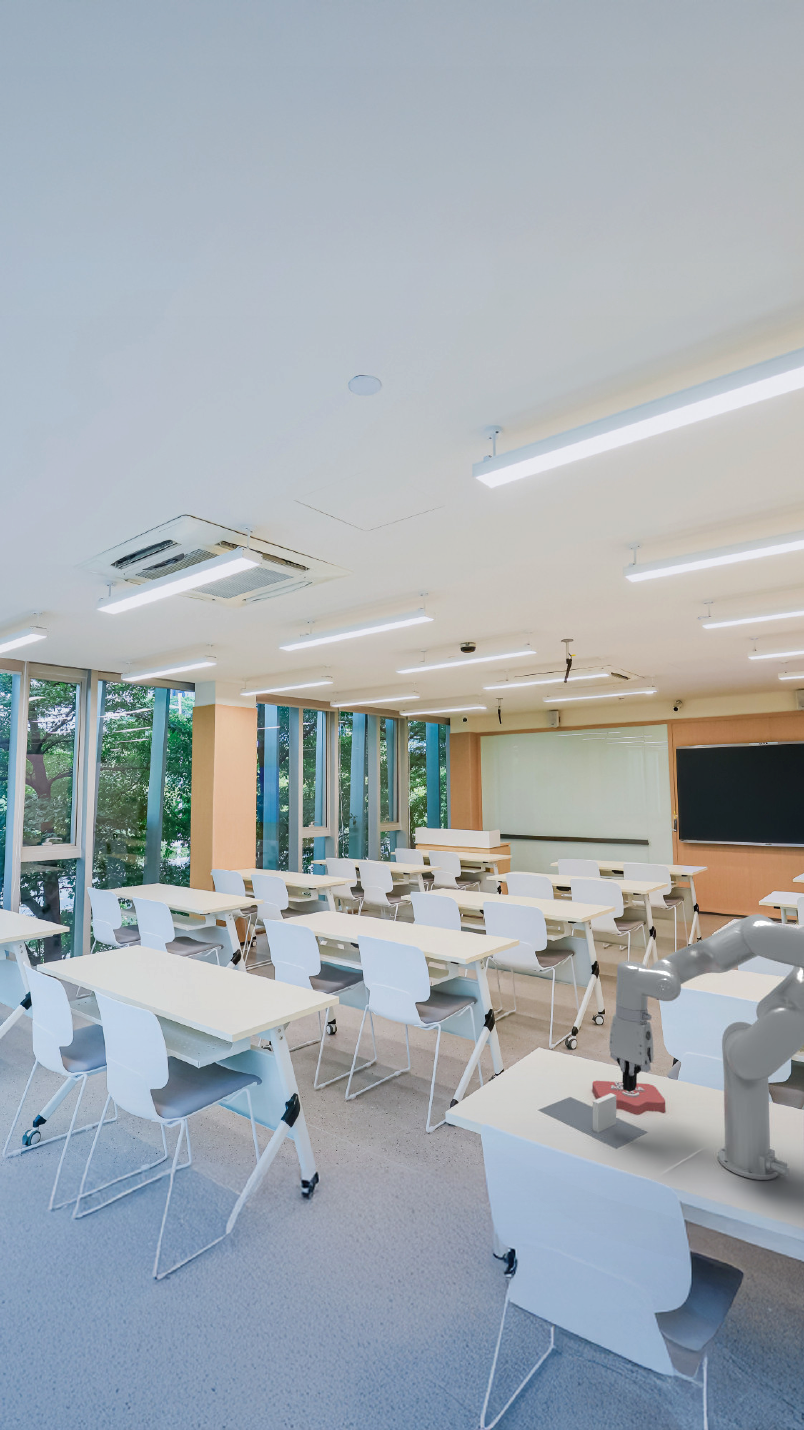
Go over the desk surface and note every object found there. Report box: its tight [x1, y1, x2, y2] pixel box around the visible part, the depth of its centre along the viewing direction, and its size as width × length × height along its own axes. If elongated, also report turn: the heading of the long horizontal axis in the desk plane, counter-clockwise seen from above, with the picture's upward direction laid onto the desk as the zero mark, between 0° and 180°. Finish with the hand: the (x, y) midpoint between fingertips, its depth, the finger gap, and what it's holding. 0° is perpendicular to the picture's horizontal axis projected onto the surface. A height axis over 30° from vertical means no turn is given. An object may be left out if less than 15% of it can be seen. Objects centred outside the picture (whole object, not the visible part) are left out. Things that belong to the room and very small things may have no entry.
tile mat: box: [538, 1096, 648, 1150], centre depth 176 cm, size 24×14×1 cm, turn 39°
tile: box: [592, 1093, 617, 1132], centre depth 173 cm, size 2×8×7 cm, turn 129°
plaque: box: [591, 1080, 666, 1116], centre depth 188 cm, size 18×4×15 cm
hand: (629, 1089), depth 168 cm, fingers closed
